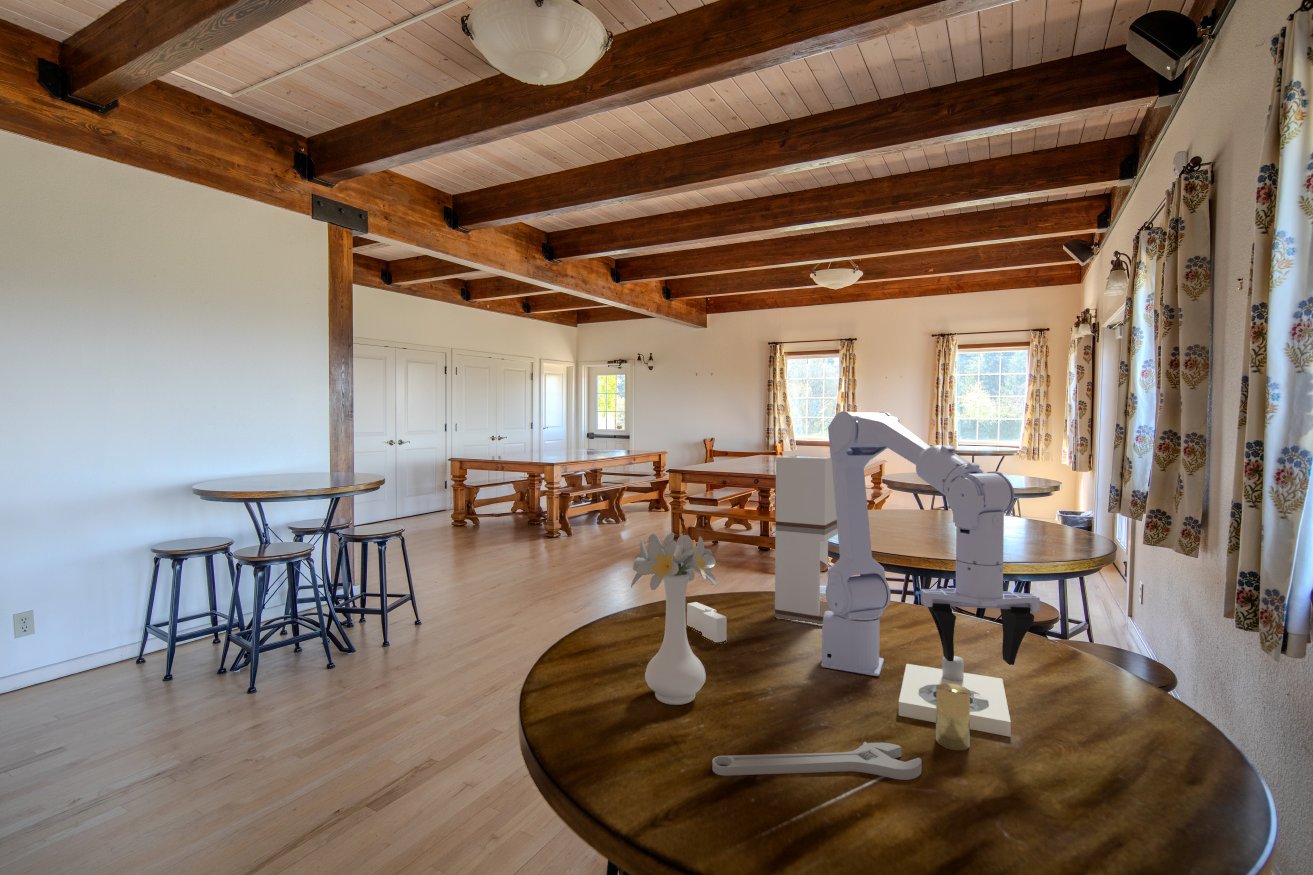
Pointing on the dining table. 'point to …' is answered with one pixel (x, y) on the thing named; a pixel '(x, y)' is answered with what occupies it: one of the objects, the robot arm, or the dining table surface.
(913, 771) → the adjustable wrench
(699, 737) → the dining table surface
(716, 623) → the napkin holder
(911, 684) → the board
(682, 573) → the flower vase
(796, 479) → the white stacked column
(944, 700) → the brass cylinder
